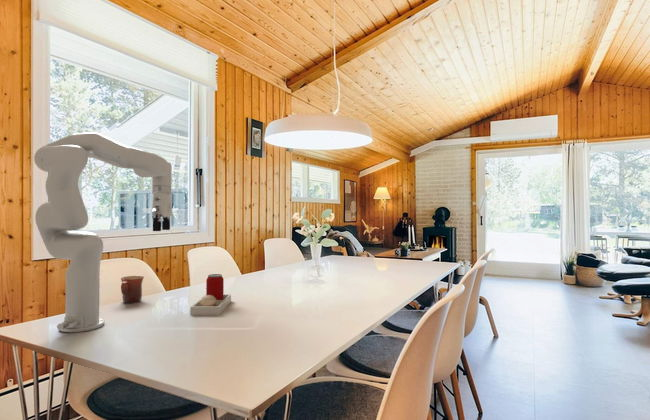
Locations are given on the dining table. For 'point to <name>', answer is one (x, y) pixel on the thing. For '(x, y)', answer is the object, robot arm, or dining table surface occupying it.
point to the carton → (210, 307)
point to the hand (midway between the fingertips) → (161, 230)
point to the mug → (131, 288)
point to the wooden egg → (208, 301)
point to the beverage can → (215, 286)
